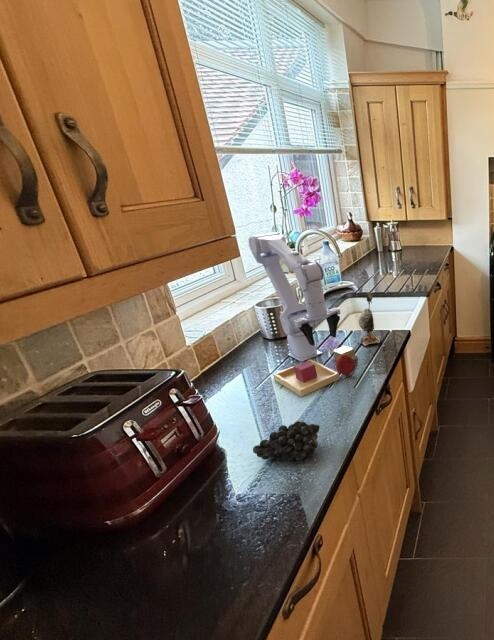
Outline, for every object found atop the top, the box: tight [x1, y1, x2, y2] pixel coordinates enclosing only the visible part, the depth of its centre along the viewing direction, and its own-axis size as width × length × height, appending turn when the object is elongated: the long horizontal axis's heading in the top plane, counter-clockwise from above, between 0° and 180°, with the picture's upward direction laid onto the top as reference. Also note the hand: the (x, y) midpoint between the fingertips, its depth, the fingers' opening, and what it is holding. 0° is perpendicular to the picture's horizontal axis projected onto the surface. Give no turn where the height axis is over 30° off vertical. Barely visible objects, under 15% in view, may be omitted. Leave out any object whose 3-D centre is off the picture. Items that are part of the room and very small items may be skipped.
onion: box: [335, 353, 356, 377], centre depth 127 cm, size 6×6×8 cm
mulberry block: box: [293, 360, 317, 383], centre depth 126 cm, size 4×4×4 cm
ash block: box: [332, 345, 357, 362], centre depth 138 cm, size 5×5×4 cm
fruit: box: [252, 420, 320, 462], centre depth 92 cm, size 9×8×15 cm
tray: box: [273, 358, 341, 397], centre depth 127 cm, size 17×13×2 cm
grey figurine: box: [358, 291, 381, 347], centre depth 150 cm, size 8×11×20 cm
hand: (322, 340), depth 132 cm, fingers open, 7 cm apart
